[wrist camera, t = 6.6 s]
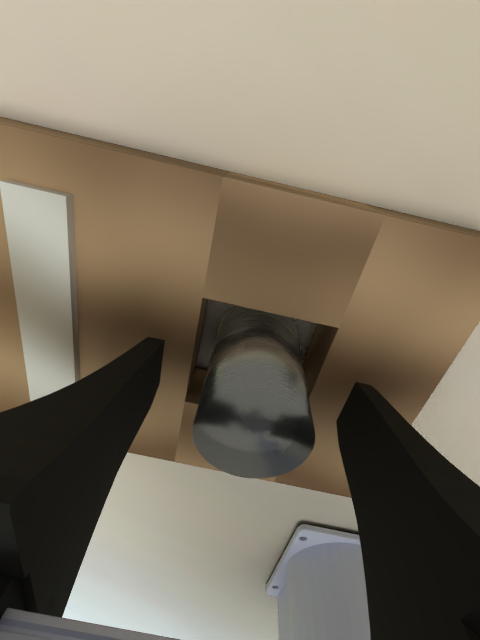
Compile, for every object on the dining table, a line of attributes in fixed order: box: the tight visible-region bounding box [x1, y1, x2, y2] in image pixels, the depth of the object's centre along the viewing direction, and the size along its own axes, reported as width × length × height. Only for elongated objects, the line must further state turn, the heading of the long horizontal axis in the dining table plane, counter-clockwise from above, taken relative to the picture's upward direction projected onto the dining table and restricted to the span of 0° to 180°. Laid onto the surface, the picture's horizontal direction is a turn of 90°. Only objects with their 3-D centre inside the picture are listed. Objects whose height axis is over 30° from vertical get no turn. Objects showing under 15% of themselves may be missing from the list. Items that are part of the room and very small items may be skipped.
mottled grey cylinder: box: [192, 305, 315, 478], centre depth 12 cm, size 4×4×6 cm
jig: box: [0, 117, 480, 498], centre depth 13 cm, size 13×18×3 cm
